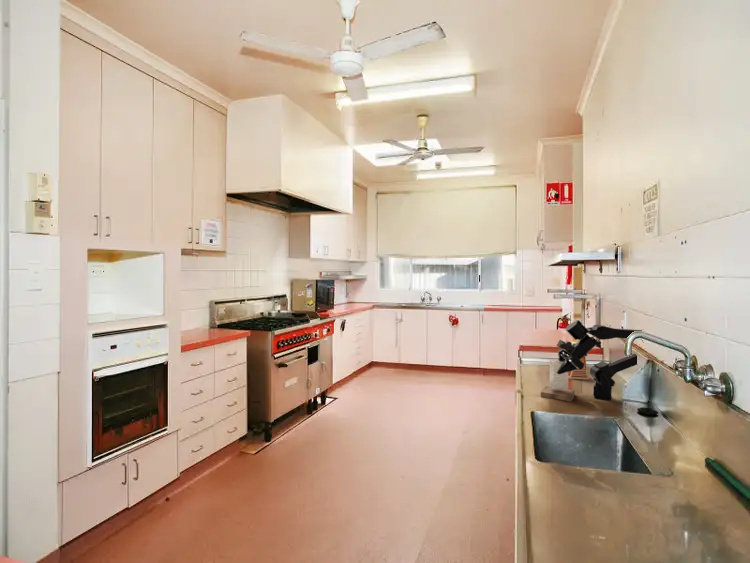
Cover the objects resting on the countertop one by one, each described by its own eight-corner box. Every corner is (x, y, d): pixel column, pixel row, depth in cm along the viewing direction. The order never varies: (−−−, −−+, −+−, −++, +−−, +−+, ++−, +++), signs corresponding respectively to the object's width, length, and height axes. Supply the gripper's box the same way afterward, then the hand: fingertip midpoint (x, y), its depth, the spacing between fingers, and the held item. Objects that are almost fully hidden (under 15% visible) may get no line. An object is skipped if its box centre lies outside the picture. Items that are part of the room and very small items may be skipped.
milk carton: (588, 379, 223) (590, 340, 223) (570, 378, 224) (571, 339, 223) (580, 375, 233) (582, 337, 232) (562, 374, 233) (564, 336, 232)
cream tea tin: (563, 385, 195) (564, 360, 195) (567, 389, 189) (568, 363, 189) (549, 385, 195) (549, 360, 195) (553, 388, 190) (553, 363, 189)
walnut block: (574, 394, 194) (574, 390, 194) (570, 401, 184) (571, 396, 184) (545, 390, 201) (545, 385, 200) (540, 396, 190) (540, 391, 190)
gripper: (562, 330, 200) (536, 354, 202) (576, 337, 182) (548, 362, 183) (580, 348, 200) (554, 372, 201) (596, 356, 181) (567, 382, 183)
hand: (555, 371), depth 192 cm, fingers closed on cream tea tin, 6 cm apart
